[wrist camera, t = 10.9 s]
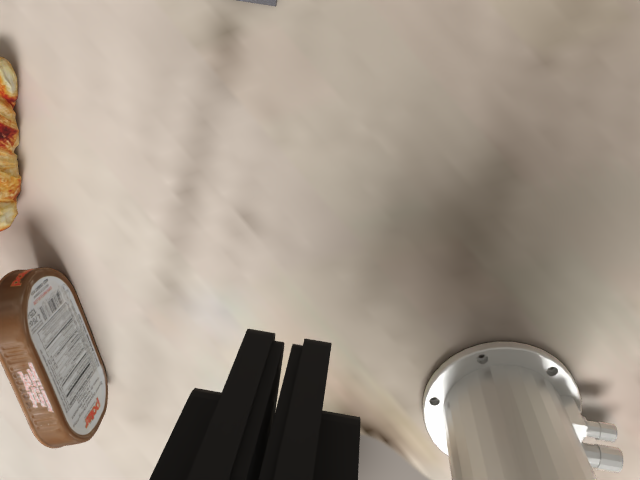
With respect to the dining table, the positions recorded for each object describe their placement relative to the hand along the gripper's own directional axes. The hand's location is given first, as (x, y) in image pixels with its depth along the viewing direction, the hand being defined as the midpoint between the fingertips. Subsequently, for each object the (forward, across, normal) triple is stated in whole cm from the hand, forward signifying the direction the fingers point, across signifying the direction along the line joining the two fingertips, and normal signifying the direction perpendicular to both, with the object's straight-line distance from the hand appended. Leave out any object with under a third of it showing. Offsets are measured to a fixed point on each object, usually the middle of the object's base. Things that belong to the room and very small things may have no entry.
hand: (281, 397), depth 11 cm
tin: (+31, +20, +22) cm, 43 cm away
